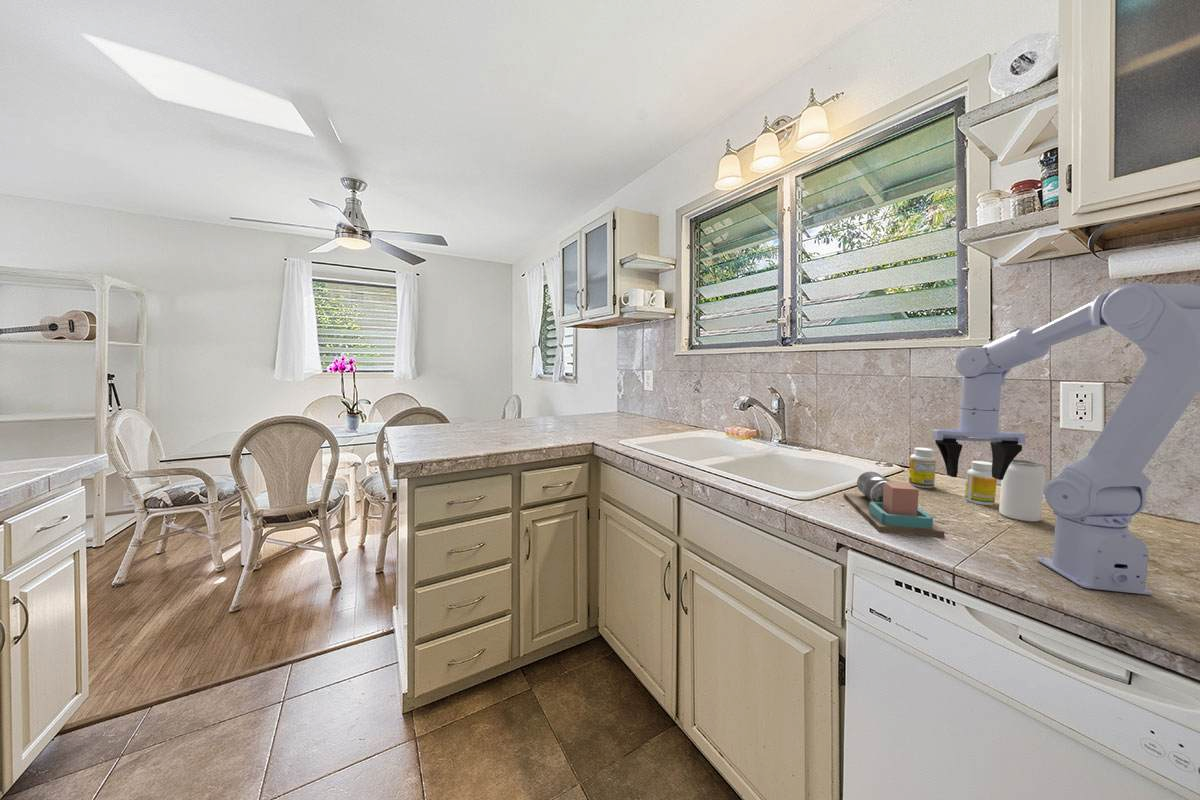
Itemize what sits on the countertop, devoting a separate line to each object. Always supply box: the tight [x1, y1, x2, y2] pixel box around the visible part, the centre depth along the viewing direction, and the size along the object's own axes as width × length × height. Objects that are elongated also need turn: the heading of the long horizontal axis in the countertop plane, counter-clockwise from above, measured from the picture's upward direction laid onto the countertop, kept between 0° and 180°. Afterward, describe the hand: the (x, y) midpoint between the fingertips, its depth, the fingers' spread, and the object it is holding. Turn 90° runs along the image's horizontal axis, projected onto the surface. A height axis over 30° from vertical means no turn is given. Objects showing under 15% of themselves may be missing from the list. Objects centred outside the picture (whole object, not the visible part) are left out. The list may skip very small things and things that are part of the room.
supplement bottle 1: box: [908, 447, 937, 489], centre depth 114 cm, size 6×6×10 cm
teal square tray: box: [869, 501, 934, 529], centre depth 87 cm, size 9×9×2 cm
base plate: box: [843, 492, 946, 538], centre depth 93 cm, size 22×11×1 cm, turn 166°
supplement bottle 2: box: [964, 460, 998, 506], centre depth 101 cm, size 5×5×10 cm
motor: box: [856, 471, 895, 502], centre depth 97 cm, size 12×6×6 cm, turn 166°
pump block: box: [882, 481, 920, 516], centre depth 87 cm, size 4×4×7 cm
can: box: [998, 459, 1046, 523], centre depth 91 cm, size 6×6×12 cm
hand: (974, 477), depth 84 cm, fingers open, 7 cm apart
